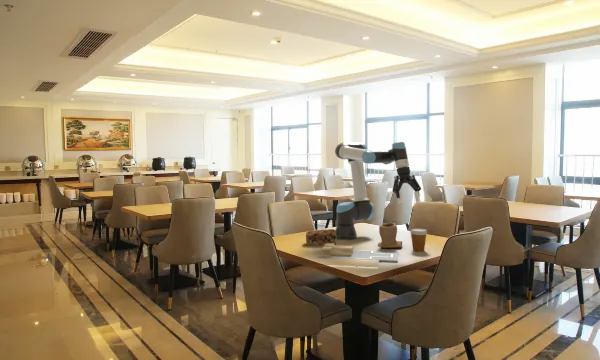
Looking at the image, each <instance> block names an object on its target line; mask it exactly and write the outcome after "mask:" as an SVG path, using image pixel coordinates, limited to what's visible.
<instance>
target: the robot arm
mask: <svg viewBox="0 0 600 360" xmlns="http://www.w3.org/2000/svg"><path fill="white" fill-rule="evenodd" d="M334 153H335V156H336V157H337V158H338V159H340V160H347V162H348V164H349V165H350V168H351V169H350V170H351V178H352V187H353V196H354V199H353V201H345V202H340V203H338V204H337V206H336V228H335V230H336V240H337V239H338V240H354V239H357V237H358V235H357V230H356V228H355V222H358V221H359V222H360V221H368V220H371V219H372V218H373V217H374V215H375V205H374V204H373V203H372V202H371V199H370V198H368V194H367V192H368V191H367V187H366V186H367V185H366V178H365V177H366V176H365V169H364V164H370V165H371V164H383V165H390V164H392V163H395V168H396V174H397V175H395V176H394V181H393V185H392V192H393V193H394V194H395V195H396V196H395V197H396V199H397V203H398V205H401V204H403V203H404V201H403V197H402V192H401V191H400V190H401V189H402V186H403V185H404V184H408V185H409V186H410V188H411V189H412V190H413V191H414V192H413V194H414V199H415V203H416V204H417V203H421V199H420V196H421V195H420V191H422V188H421V186H420V183H419V182H418V181H417V179H416V176H415V174H412V175H411V169H410V164H409V159H408V153H407V147H406V144H405V142H404V141H397V142H394V143H392V144H391V149H388V150H372V149H368V148H367V146H366V144H364V143H363V142H346V141H345V142H341V143H339V144H337V146H336V147H335V150H334Z"/></svg>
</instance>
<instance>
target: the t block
mask: <svg viewBox="0 0 600 360" xmlns="http://www.w3.org/2000/svg"><path fill="white" fill-rule="evenodd" d="M353 246H354V245H337V244H336V245H335V243H326V244H325V245H323V246H322V248H321V253H322V257H331V255H332V254H333V255H352V254H353V250H354V248H353Z"/></svg>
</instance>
